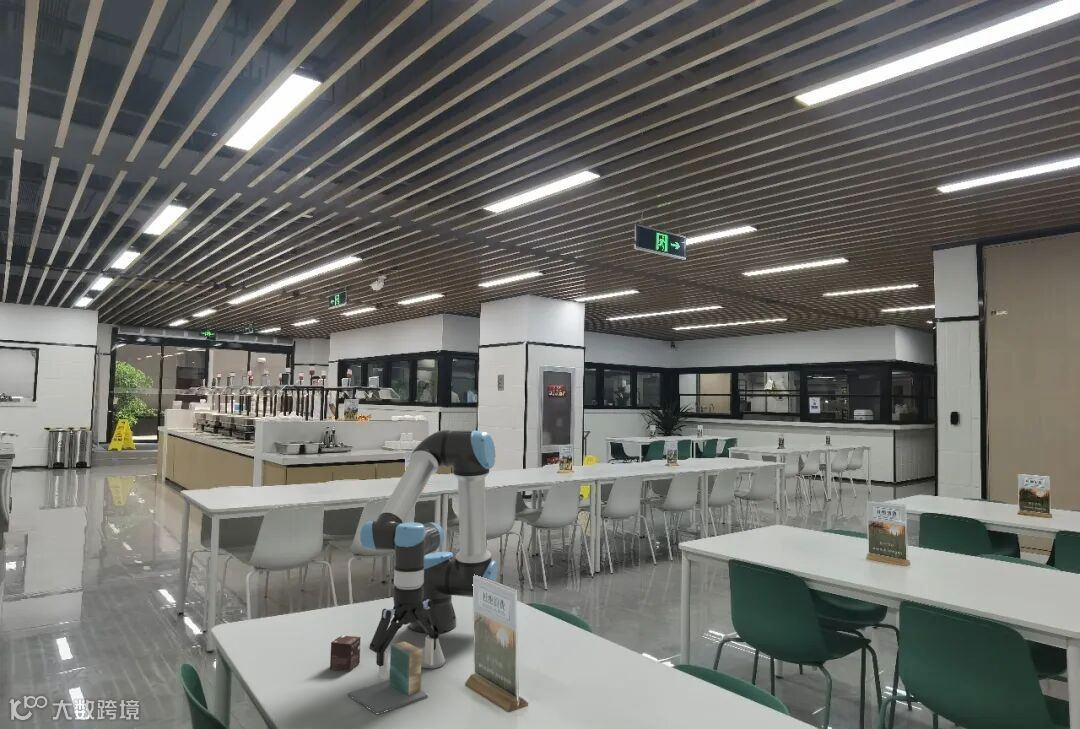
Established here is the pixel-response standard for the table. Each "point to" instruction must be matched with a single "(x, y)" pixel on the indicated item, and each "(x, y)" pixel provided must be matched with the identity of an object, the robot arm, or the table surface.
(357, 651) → the box
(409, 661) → the slab
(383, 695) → the mat
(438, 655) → the flask
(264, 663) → the table surface
